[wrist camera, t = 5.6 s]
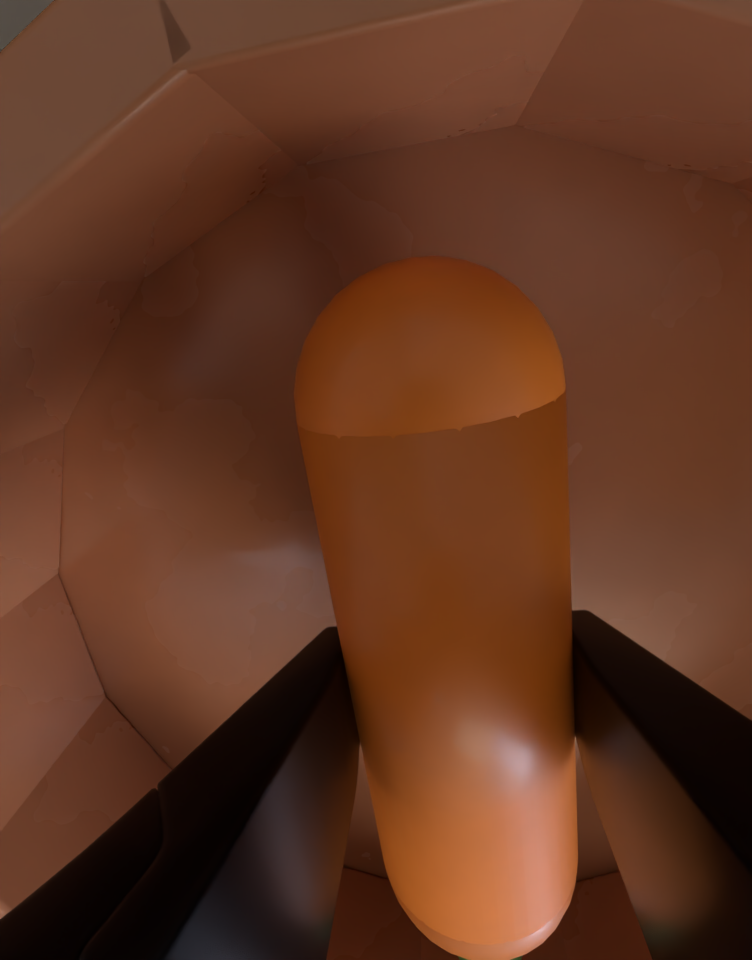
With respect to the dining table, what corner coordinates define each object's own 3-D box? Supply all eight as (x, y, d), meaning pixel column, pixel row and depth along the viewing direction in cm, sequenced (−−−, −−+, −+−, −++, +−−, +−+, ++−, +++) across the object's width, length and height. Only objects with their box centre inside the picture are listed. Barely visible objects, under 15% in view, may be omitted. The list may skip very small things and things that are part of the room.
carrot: (303, 279, 7) (224, 279, 4) (531, 243, 7) (603, 217, 4) (405, 855, 11) (398, 1054, 8) (558, 854, 11) (605, 1062, 8)
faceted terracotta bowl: (1105, -72, 6) (2179, -631, 2) (872, 895, 11) (1086, 1192, 8) (-123, 183, 8) (-577, 103, 4) (164, 894, 13) (64, 1124, 10)
